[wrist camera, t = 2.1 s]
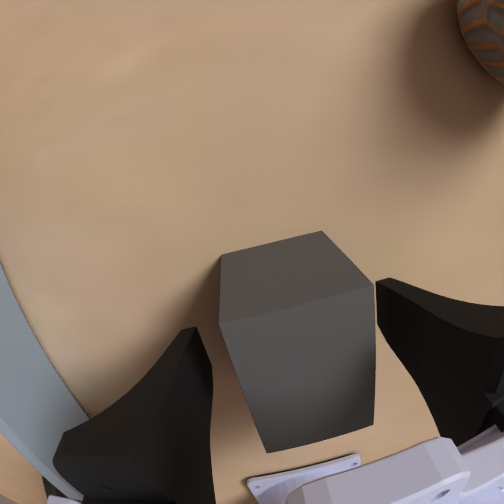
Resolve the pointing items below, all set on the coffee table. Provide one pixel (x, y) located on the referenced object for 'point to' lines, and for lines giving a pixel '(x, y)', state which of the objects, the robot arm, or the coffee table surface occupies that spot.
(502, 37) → the vase
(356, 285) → the block
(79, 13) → the coffee table surface
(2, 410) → the door
